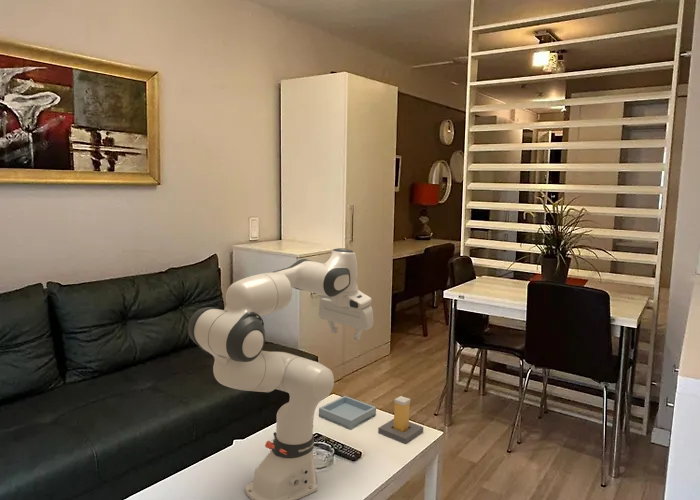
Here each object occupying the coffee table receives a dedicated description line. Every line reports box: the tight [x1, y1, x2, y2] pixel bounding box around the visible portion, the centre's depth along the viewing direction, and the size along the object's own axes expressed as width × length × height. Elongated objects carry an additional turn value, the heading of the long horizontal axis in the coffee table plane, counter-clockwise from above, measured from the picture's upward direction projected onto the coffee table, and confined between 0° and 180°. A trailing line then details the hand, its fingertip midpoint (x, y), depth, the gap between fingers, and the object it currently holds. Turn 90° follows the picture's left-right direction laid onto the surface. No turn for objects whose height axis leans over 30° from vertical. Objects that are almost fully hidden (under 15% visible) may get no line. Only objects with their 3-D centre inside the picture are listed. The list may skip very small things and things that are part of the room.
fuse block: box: [377, 418, 424, 445], centre depth 192 cm, size 12×12×2 cm
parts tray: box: [318, 395, 377, 431], centre depth 203 cm, size 16×16×4 cm
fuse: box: [393, 395, 411, 432], centre depth 191 cm, size 4×4×13 cm
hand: (345, 335), depth 172 cm, fingers open, 8 cm apart
